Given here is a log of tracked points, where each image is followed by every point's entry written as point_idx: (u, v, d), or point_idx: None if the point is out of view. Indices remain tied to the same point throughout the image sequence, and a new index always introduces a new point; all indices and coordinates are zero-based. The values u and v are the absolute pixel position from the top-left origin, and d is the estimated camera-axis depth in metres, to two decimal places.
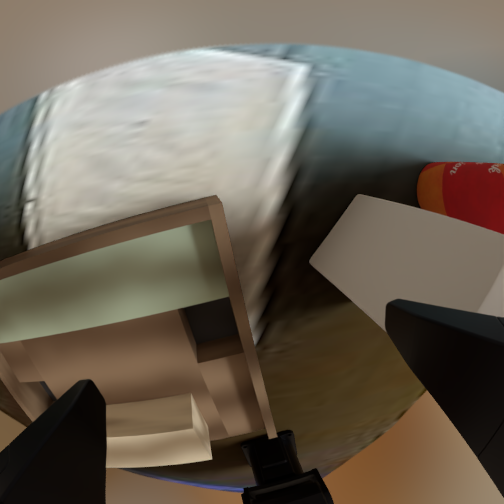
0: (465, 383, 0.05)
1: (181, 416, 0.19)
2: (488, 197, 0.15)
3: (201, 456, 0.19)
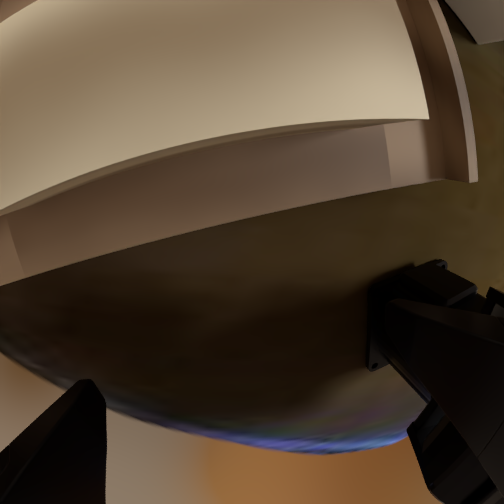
0: (465, 383, 0.05)
1: None
2: None
3: (405, 87, 0.05)
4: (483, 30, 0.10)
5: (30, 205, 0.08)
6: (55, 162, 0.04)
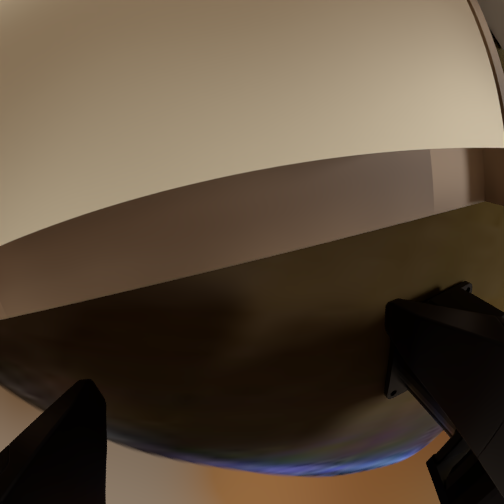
0: (465, 383, 0.05)
1: None
2: None
3: (486, 107, 0.03)
4: None
5: None
6: (2, 209, 0.03)
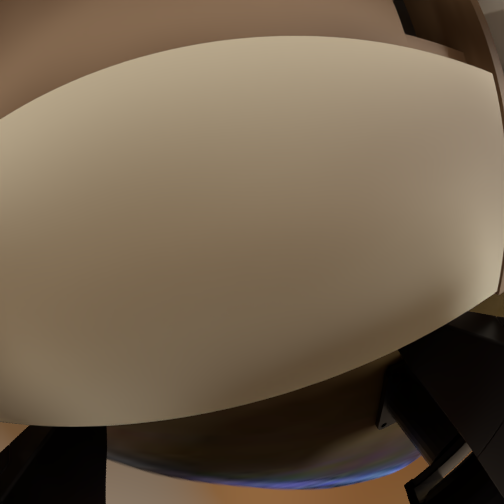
0: (465, 383, 0.05)
1: None
2: None
3: (488, 268, 0.05)
4: None
5: None
6: (100, 409, 0.04)
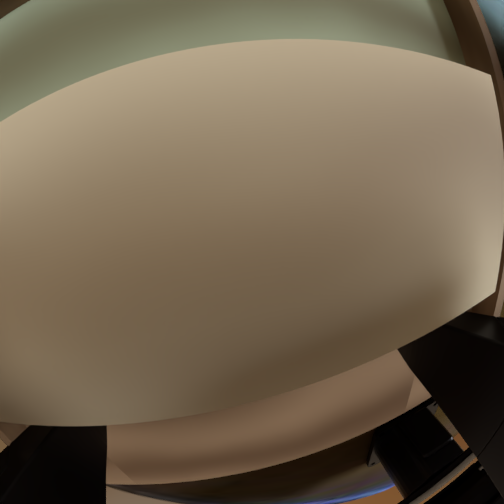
0: (465, 383, 0.05)
1: None
2: None
3: (486, 269, 0.05)
4: None
5: None
6: (100, 409, 0.04)
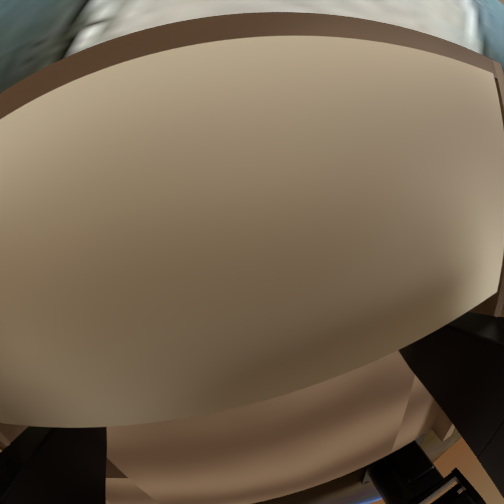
0: (465, 383, 0.05)
1: None
2: None
3: (488, 269, 0.05)
4: None
5: None
6: (100, 410, 0.04)
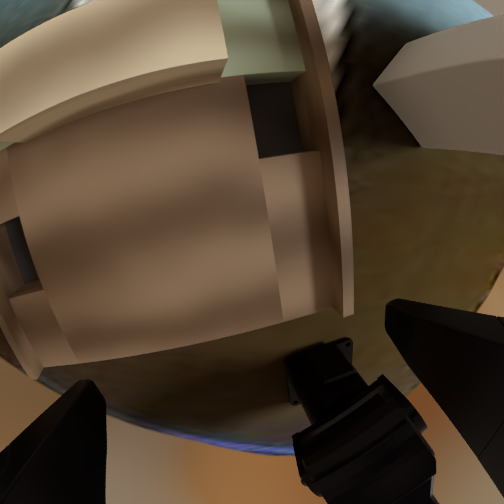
0: (465, 383, 0.05)
1: None
2: None
3: (208, 44, 0.09)
4: (426, 138, 0.18)
5: (23, 142, 0.12)
6: (36, 104, 0.08)
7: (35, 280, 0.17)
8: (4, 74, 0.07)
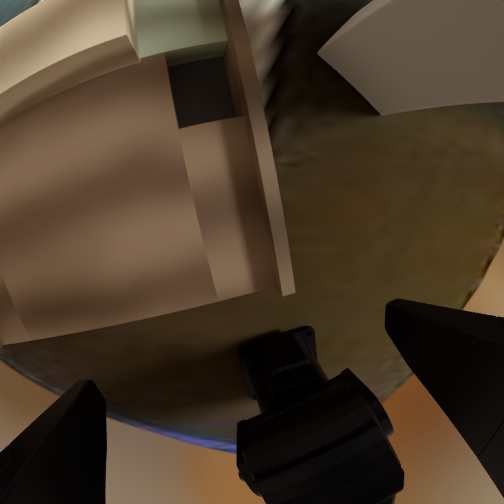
0: (465, 383, 0.05)
1: None
2: None
3: (111, 26, 0.09)
4: (382, 103, 0.17)
5: None
6: None
7: None
8: None
